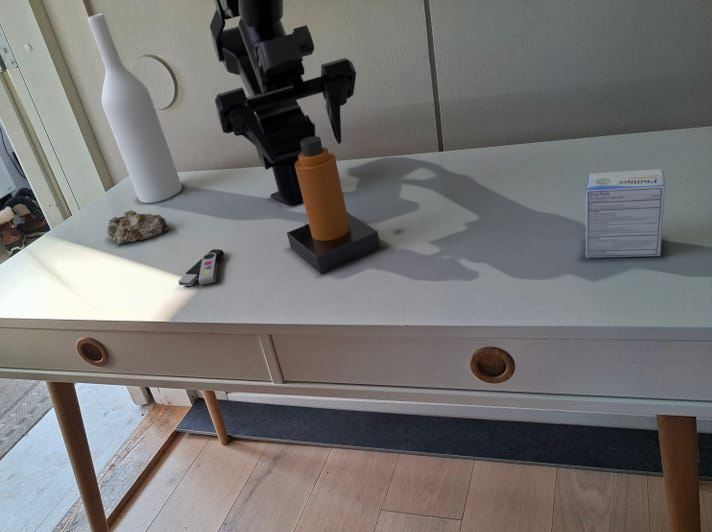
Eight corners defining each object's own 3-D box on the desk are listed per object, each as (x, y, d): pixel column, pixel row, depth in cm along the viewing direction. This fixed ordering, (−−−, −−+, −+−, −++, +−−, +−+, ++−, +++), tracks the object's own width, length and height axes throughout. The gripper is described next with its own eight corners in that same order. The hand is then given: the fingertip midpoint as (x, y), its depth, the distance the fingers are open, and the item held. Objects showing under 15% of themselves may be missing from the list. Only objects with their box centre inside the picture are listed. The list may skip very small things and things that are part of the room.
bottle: (189, 189, 126) (127, 9, 109) (148, 207, 123) (78, 24, 106) (172, 180, 132) (110, 7, 115) (132, 197, 129) (63, 22, 112)
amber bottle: (304, 239, 94) (281, 148, 87) (323, 221, 97) (303, 132, 90) (338, 242, 91) (317, 148, 84) (356, 223, 95) (338, 131, 87)
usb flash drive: (212, 254, 102) (210, 248, 101) (242, 256, 99) (240, 249, 99) (178, 286, 96) (176, 279, 95) (209, 288, 93) (207, 281, 93)
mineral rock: (91, 236, 111) (110, 201, 116) (105, 255, 114) (123, 221, 119) (151, 233, 108) (168, 198, 112) (163, 254, 111) (179, 219, 116)
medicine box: (659, 239, 81) (665, 167, 76) (660, 258, 78) (666, 185, 73) (587, 240, 84) (587, 172, 79) (585, 259, 81) (585, 189, 76)
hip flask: (381, 248, 93) (378, 231, 91) (321, 274, 91) (317, 256, 89) (341, 222, 102) (337, 205, 101) (285, 245, 100) (281, 228, 98)
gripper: (193, 29, 86) (233, 141, 83) (337, -11, 88) (380, 98, 85) (205, 82, 97) (240, 182, 94) (333, 45, 99) (371, 143, 96)
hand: (306, 151), depth 92 cm, fingers open, 9 cm apart
